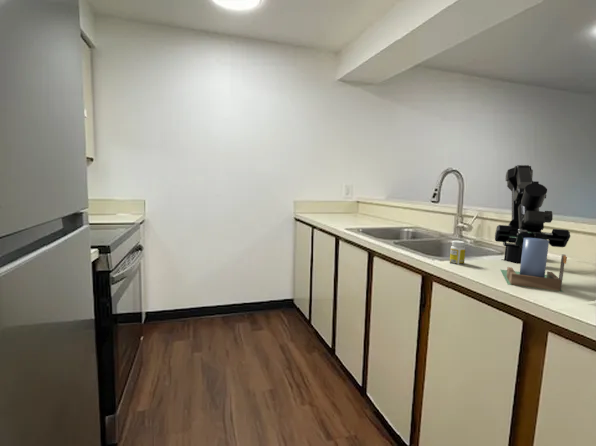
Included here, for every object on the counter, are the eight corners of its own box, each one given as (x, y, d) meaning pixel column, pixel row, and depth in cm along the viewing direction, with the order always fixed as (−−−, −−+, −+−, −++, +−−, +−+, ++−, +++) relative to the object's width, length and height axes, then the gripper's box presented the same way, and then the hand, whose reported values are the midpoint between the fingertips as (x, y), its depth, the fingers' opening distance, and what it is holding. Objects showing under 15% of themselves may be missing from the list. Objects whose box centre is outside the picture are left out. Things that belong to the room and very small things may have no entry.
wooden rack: (506, 276, 107) (510, 244, 106) (552, 282, 102) (556, 249, 101) (511, 286, 96) (515, 251, 95) (563, 293, 92) (568, 256, 90)
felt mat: (500, 271, 116) (500, 269, 115) (546, 276, 110) (546, 274, 110) (507, 286, 98) (507, 284, 98) (563, 294, 93) (563, 291, 93)
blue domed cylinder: (513, 281, 102) (518, 238, 100) (528, 279, 104) (533, 237, 102) (533, 287, 96) (539, 241, 94) (548, 285, 98) (554, 241, 97)
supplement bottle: (462, 263, 125) (464, 240, 124) (465, 266, 120) (467, 243, 119) (448, 262, 126) (450, 239, 125) (450, 265, 121) (452, 242, 120)
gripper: (499, 199, 109) (499, 239, 100) (572, 202, 101) (579, 245, 92) (494, 221, 117) (494, 260, 108) (562, 226, 109) (567, 268, 100)
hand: (531, 258), depth 102 cm, fingers closed
